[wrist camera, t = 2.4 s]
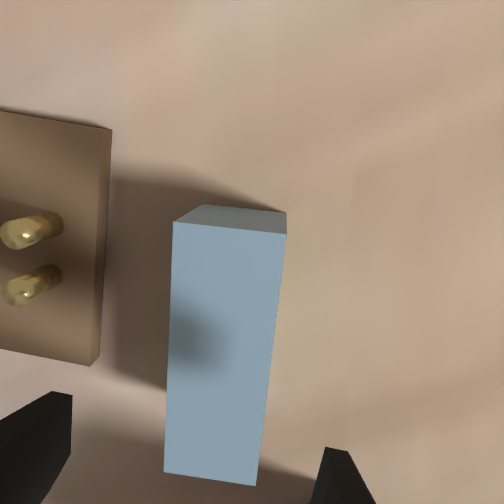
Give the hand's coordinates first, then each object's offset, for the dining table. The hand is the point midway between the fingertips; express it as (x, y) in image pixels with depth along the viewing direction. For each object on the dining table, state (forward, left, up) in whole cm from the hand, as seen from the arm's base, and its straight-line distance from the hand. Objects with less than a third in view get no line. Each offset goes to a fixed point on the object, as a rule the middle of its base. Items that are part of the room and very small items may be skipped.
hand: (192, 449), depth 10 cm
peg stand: (+2, +13, -9) cm, 16 cm away
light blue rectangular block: (0, 0, -9) cm, 9 cm away
